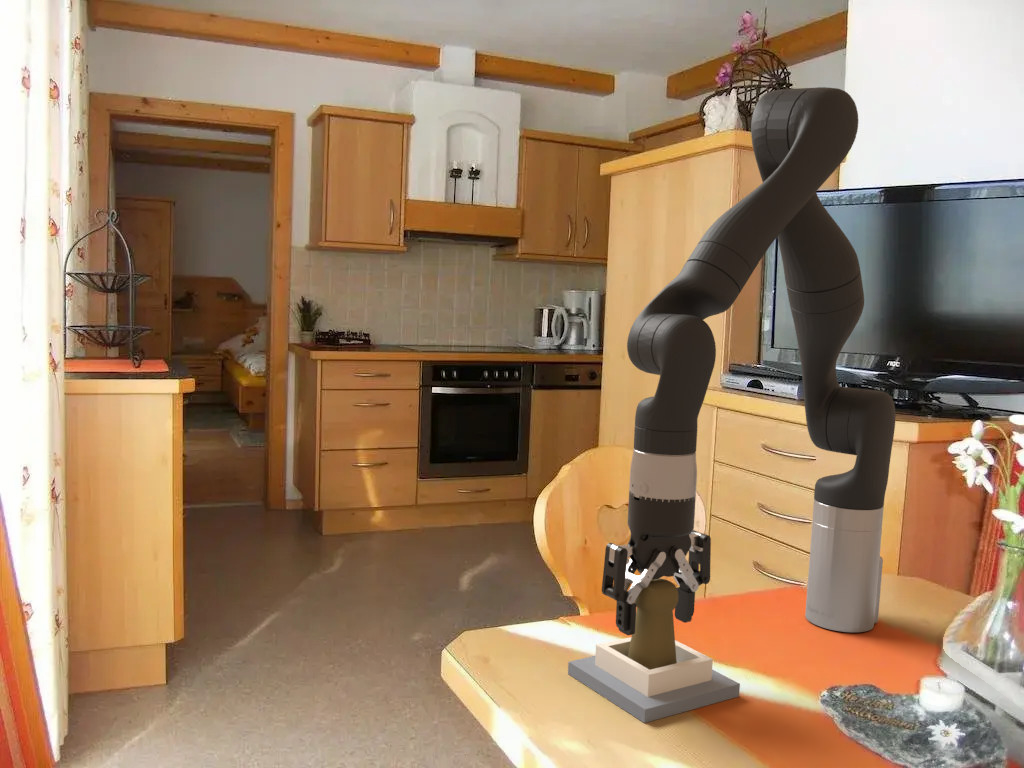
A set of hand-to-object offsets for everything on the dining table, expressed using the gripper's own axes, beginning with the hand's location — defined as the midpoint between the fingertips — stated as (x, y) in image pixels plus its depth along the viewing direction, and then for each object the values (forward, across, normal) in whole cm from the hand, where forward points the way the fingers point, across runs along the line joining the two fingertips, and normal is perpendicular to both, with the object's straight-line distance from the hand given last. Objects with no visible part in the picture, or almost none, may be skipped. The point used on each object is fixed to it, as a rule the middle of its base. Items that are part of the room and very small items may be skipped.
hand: (654, 626), depth 107 cm
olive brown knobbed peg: (+6, 0, 0) cm, 6 cm away
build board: (+7, 0, 0) cm, 7 cm away
